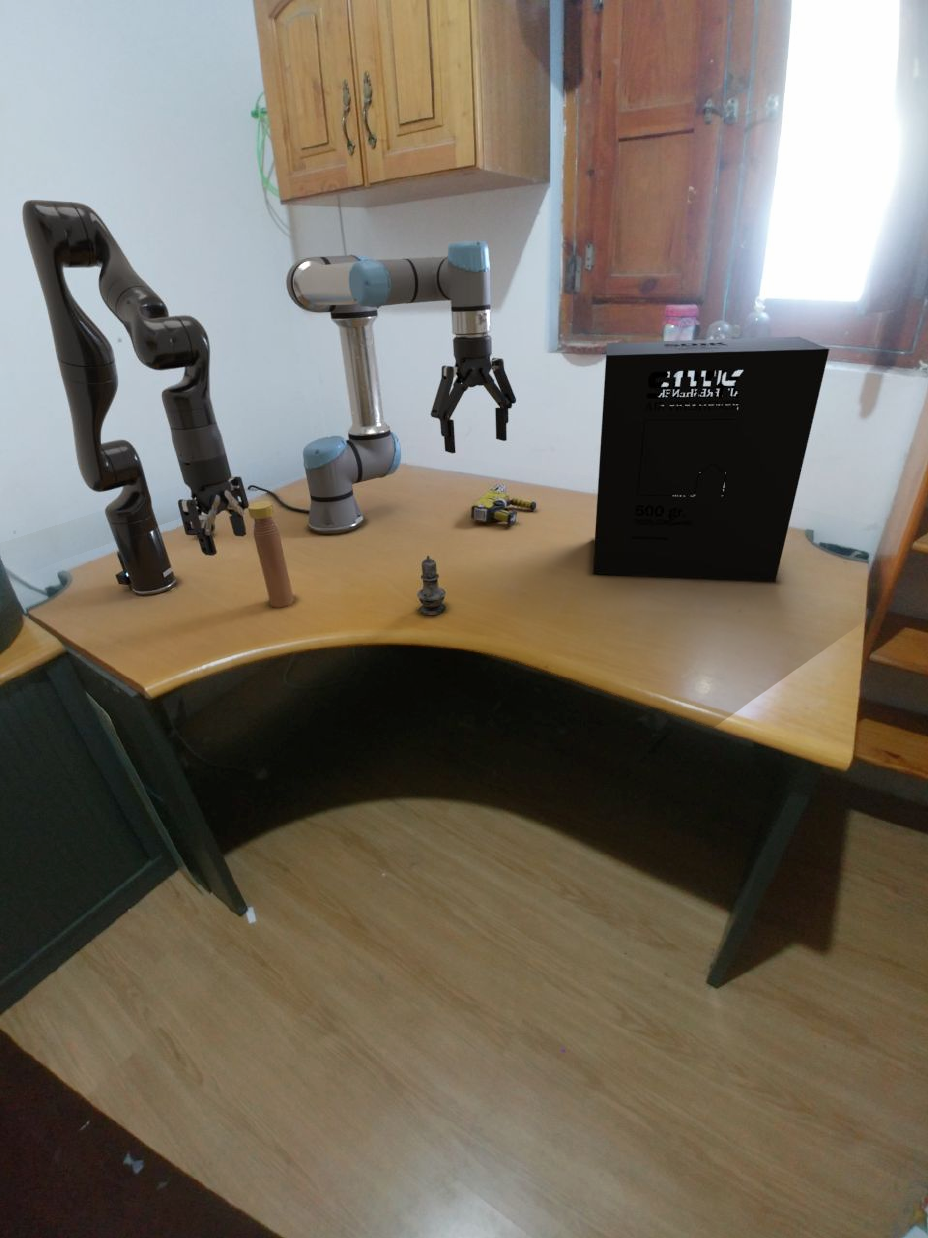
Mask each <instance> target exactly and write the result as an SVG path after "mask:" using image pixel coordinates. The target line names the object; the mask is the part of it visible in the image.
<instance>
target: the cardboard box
mask: <svg viewBox="0 0 928 1238" xmlns="http://www.w3.org/2000/svg"><path fill="white" fill-rule="evenodd" d="M605 351H606V352H605V367H604V369H605V370H604V383H603V384H604V385H603V399H602V400H603V401H602V415H601V431H600V433H601V434H600V448H599V465H598V481H597V497H596V511H595V512H596V514H595V529H594V531H595V532H594V547H593V548H594V550H593V566H592V575H608V576H628V577H629V576H631V577H654V578H655V577H656V578H675V579H676V578H677V579H678V578H679V579H701V580H702V579H703V580H724V581H725V580H726V581H747V582H770V583H776V582H777V577H778V573H779V568H780V565H781V560H782V556H783V552H784V547H785V543H786V538H787V534H788V531H789V530H788V529H789V525H790V521H791V518H792V517H791V516H792V514H793V513H792V512H793V508H794V504H795V500H796V496H797V491H798V488H799V482H800V477H801V474H802V470H803V465H804V460H805V456H806V453H807V448H808V444H809V440H810V435H811V431H812V427H813V422H814V418H815V414H816V409H817V405H818V400H819V397H820V391H821V387H822V383H823V380H824V379H823V378H824V375H825V370H826V366H827V363H828V362H827V361H828V358H829V353H830V348H828V347H826V346H824V345H820V344H819V343H815V342H813V341H811V340H808V339H805V338H803V337H800V336H780V337H778V336H775V337H749V338H748V337H747V338H745V337H744V338H721V339H720V338H717V339H716V338H715V339H689V340H688V339H687V340H684V339H683V340H657V341H655V340H654V341H628V342H627V341H626V342H624V341H623V342H607V343H606V349H605ZM720 371H721V372H720ZM737 371H742V372H740V374H739V375H734V374H735V373H736V372H737ZM678 372H682V376H681V377H680V382H679V385H677V386H676V382H677V377H676V374H677V373H678ZM689 372H694V373H693V382H695V385H691V384H692V376H689ZM702 372H705V375H704V376H702V374H703V373H702ZM719 375H720V379H719ZM724 375H725V377H724ZM723 378H724V382H734V383H733V385H725V384H723ZM705 382H710V385H704V384H705ZM664 383H665V384H666V383H667V386H663V385H664Z"/></svg>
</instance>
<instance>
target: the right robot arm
mask: <svg viewBox="0 0 928 1238" xmlns="http://www.w3.org/2000/svg"><path fill="white" fill-rule="evenodd" d="M490 263H491V262H490V252H489V245H488V244H487V242H485V241H484V240H466V241H455V242H451V243H450V244H449V245H448V247H447V256H431V257H430V256H427V257H413V258H411V257H410V258H391V259H390V258H386V259H374V258H370V257H369V256H367V255H358V254H349V255H328V256H326V255H325V256H310V257H305V258H302V259H300V260H298V261H296V262H295V263H293V265H291V267H290V268H289V269H288V272H287V275H286V281H285V282H286V283H285V284H286V285H285V286H286V290H287V293H288V296H289V297H290V299H291V300H292V303H294V304H295V305H296V306H298V307H299V308H300V309H302V310H304V311H306V312H310V313H318V314H319V313H320V314H321V313H330V320H331V321H332V322H333V323H334V324H335V325H336V326H337V327H338V332H339V333H338V334H339V339H340V347H341V355H342V361H343V369H344V375H345V382H346V383H345V384H346V389H347V396H348V404H349V410H350V418H351V425H350V426H349V428H348V430H347V436H348V439H345V437H343V436H341V435H332V436H324V437H321V438H318V439H315V440H312V441H311V442H309V443H308V444H306V445H305V446H304V448H303V450H302V457H303V459H302V460H303V467H304V471H305V476H306V481H307V486H308V492H309V498H310V507H309V509H302V508H297V507H293V506H291V505H288V504H286V503H285V502H283V501H282V500H281V499H280V498H279V497H278V496H277V494H275V493H274V492H272V491H271V490H270V489H267V488H262V487H260V486H258V485H255V484H251V485H249V486H248V487H247V490H250V489H251V488H254V489H257V490H258V491H260V492H261V491H262V492H264V493H267V494H270V495H272V496H273V498H275V499H276V500H277V502H278V503H280V504H281V506H283V507H284V508H286V509H288V510H290V511H291V510H292V511H295V512H300V513H308V521H307V524H308V528H309V529H308V530H310V531H311V532H312V533H314V534H317V535H323V536H324V535H325V536H327V535H329V536H331V535H339V534H340V535H341V534H345V533H350V532H353V531H355V530H357V529H359V528H361V527H362V526H363V525H364V523H365V519H364V514H363V512H362V510H361V508H360V505H359V504H358V501H357V500H356V498H355V495H354V489H353V485H354V484H355V485H356V484H359V483H363V482H368V481H371V480H375V479H381V478H385V477H387V476H390V475H392V474H394V473H396V472H397V470H398V469H399V467H400V465H401V462H402V446H401V443H400V441H399V437H398V436H397V435H396V434H395V432H394V431H391V426H390V425H388V423H386V422H385V420H384V419H385V418H384V410H383V402H382V393H381V385H380V377H379V368H378V367H379V366H378V358H377V349H376V341H375V331H374V324H375V322H376V320H377V319H378V317H379V314H378V309H379V308H381V307H385V306H394V305H403V304H405V305H406V304H417V303H419V304H420V303H427V302H428V303H429V302H444V301H448V302H449V301H450V311H451V313H450V314H451V315H450V316H451V334H453V335H454V337H453V339H452V350H453V358H454V359H455V363H454V366H452V365H442V366H441V373H440V374H441V375H440V376H441V377H440V381H439V384H438V388H437V390H436V395H435V398H434V401H433V404H432V407H431V411H430V416H431V418H435V419H438V421H439V426H440V435H441V437H443V441H444V442H443V443H444V452H446V453H450V454H456V433H455V420H454V419H451V418H452V416H453V414H454V413H455V410H456V409H457V406H458V404H459V402H460V401H461V399H462V397H463V396H464V393H465V392H466V391H468V389H469V388H474V387H477V386H478V387H482V386H483V387H484V389H485V390H486V391H487V392H488V394H489V396H491V398H492V399H493V401H494V402H495V403H496V405H497V406H498V407H495V408H494V410H495V411H494V413H495V414H494V415H495V439H496V440H499V441H502V442H507V441H508V438H507V435H508V433H507V424H509V410H510V409H512V407H513V404H516V403H517V398H516V394H515V393H514V390H513V388H512V385H511V383H510V380H509V378H508V375H507V373H506V370H505V363H504V362H505V361H504V359H503V358H499V357H493V358H491V356H492V354H493V346H492V344H493V343H492V340H493V339H492V336H491V335H489V333H491V332H492V315H491V314H492V312H491V311H492V309H491V264H490ZM491 370H492V374H493V376H494V378H493V376H492V375H491ZM455 377H456V378H455ZM454 378H455V380H454ZM495 381H496V383H497V384H496V383H495Z"/></svg>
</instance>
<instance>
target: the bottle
mask: <svg viewBox="0 0 928 1238" xmlns="http://www.w3.org/2000/svg"><path fill="white" fill-rule="evenodd" d="M252 534H253V538H254V543H255V546H256V551H257V555H258V558H259V563H260V567H261V571H262V576H263V579H264V584H265V588H266V592H267V596H268V601H269V604H270V606H271V607H272V608H284V607H288V606H290V605H292V604H293V603H294V601H295V599H294V594H293V590H292V586H291V585H292V584H291V580H290V576H289V572H288V571H289V570H288V566H287V563H286V558H285V554H284V548H283V545H282V540H281V534H280V531H279V528H278V525H277V523H276V522H275V520H274V518H273V517H272V516H270V517H267V518H263V519H253V526H252Z"/></svg>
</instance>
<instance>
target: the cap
mask: <svg viewBox="0 0 928 1238" xmlns="http://www.w3.org/2000/svg"><path fill="white" fill-rule="evenodd" d="M247 510H248V514H249V517H250V518H251V519H253V520H254V519H263V518H267V517H270V516H271V517H272V516H273V515H274V513H275V511H274V507H273V504H272V502H271V501H266V500H265V501H263V500H262V501H256V502H253V503H249V507H248V509H247Z"/></svg>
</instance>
